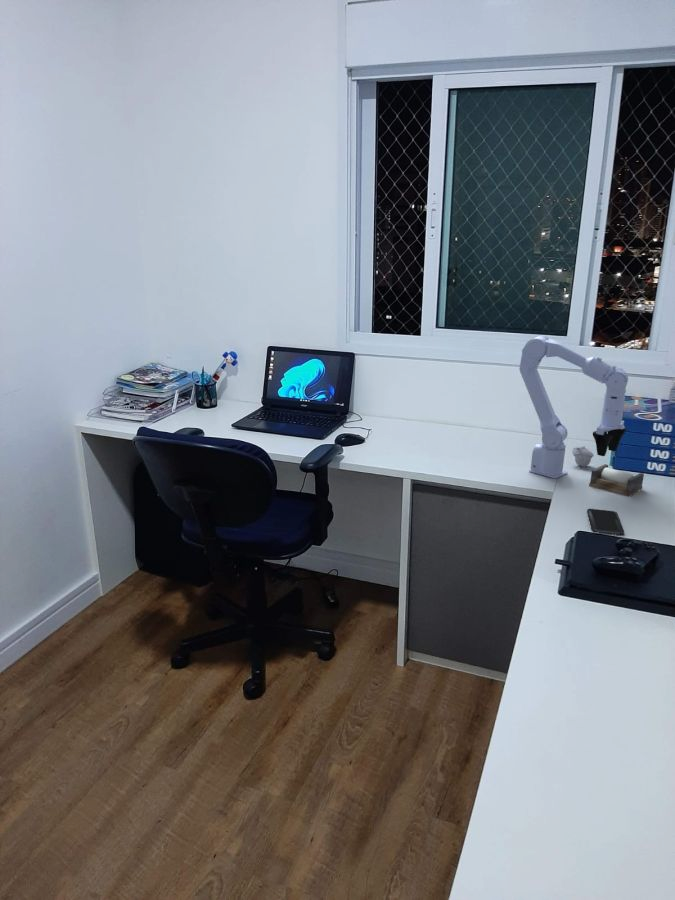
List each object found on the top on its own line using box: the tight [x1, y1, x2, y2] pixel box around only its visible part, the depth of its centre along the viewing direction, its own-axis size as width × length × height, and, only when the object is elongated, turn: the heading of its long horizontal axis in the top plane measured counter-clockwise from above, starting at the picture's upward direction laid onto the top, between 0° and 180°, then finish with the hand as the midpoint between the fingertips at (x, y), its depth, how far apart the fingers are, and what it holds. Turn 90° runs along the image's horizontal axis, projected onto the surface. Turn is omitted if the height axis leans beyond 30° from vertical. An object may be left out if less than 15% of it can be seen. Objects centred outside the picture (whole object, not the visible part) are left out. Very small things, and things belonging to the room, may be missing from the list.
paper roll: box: [601, 467, 635, 485], centre depth 201 cm, size 8×4×4 cm, turn 43°
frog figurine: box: [572, 444, 594, 467], centre depth 221 cm, size 6×7×7 cm
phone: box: [586, 508, 625, 536], centre depth 176 cm, size 8×1×15 cm
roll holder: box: [588, 464, 645, 497], centre depth 202 cm, size 12×9×5 cm
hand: (606, 453), depth 204 cm, fingers open, 7 cm apart
